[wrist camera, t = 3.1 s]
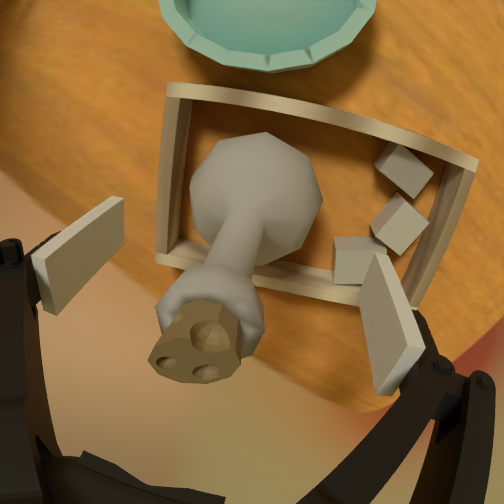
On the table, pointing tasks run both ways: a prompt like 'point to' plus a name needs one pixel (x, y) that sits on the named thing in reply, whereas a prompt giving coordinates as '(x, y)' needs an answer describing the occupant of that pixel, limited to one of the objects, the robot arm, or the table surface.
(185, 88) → the tray
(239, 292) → the potion bottle
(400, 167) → the pebble
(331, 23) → the bowl
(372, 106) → the table surface
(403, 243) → the pebble
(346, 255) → the grey block
